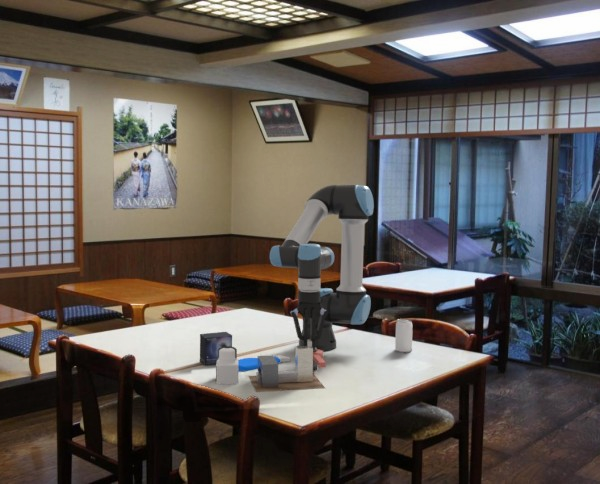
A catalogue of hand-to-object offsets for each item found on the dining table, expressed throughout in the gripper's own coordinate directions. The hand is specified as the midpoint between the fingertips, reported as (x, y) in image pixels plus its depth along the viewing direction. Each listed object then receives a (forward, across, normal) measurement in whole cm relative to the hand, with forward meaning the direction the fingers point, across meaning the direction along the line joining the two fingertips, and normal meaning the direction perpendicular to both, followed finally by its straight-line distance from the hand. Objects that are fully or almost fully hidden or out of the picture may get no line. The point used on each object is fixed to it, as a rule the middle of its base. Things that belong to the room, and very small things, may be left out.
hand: (308, 359), depth 232 cm
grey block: (+5, -15, -7) cm, 17 cm away
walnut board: (+6, -9, -7) cm, 13 cm away
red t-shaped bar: (+1, +3, +1) cm, 3 cm away
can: (+6, +45, +30) cm, 54 cm away
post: (+6, +3, +6) cm, 9 cm away
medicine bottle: (+6, -28, -2) cm, 28 cm away
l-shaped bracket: (+5, -10, -7) cm, 13 cm away
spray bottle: (+7, -14, +18) cm, 24 cm away
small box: (+6, -29, +25) cm, 39 cm away
